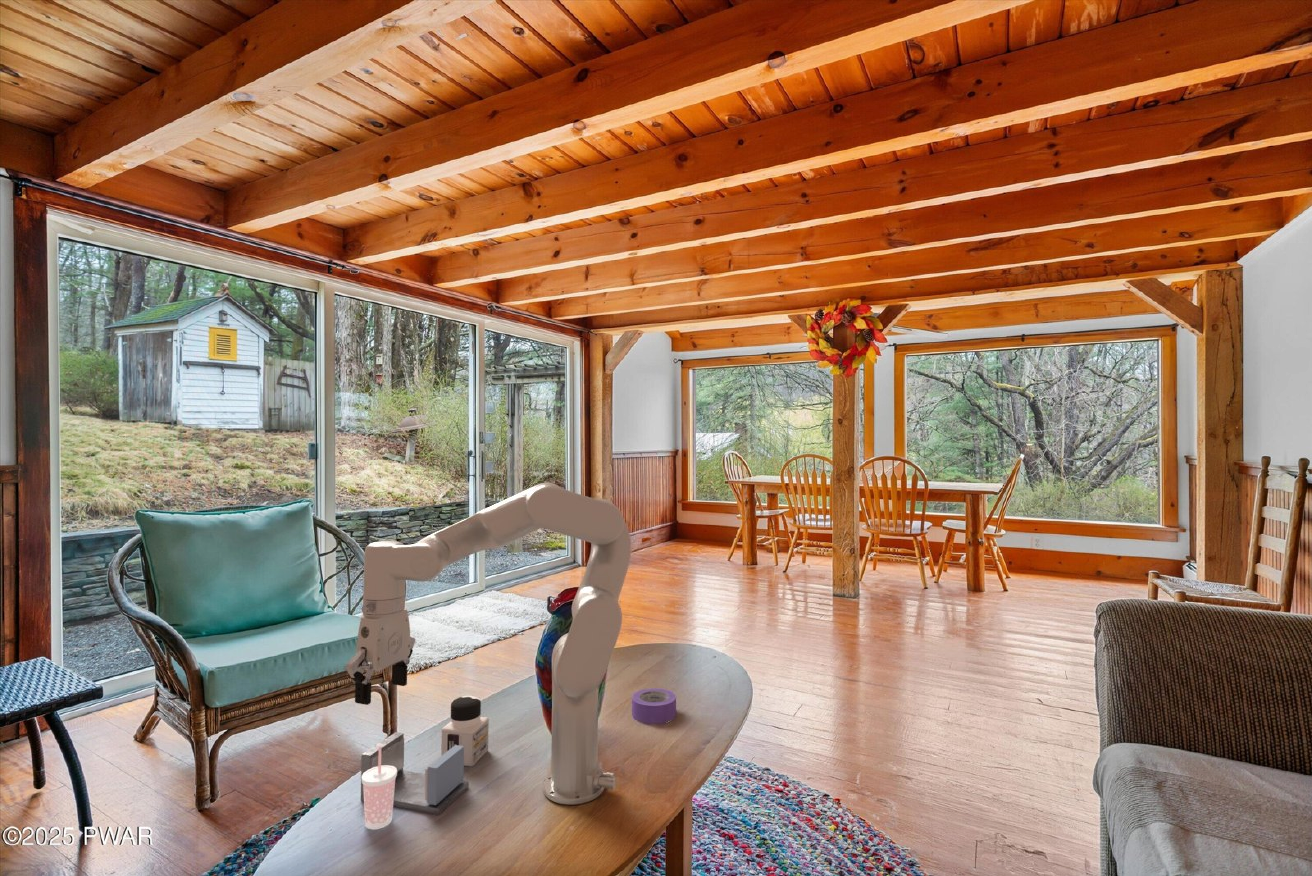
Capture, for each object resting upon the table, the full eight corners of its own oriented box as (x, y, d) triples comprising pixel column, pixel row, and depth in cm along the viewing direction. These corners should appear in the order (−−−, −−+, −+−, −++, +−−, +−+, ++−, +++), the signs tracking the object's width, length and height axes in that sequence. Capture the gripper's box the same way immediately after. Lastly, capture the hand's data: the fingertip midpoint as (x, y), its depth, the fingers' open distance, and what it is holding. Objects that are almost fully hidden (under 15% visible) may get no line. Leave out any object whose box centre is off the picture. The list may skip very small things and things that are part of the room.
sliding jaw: (463, 780, 126) (463, 746, 126) (435, 805, 117) (436, 768, 117) (452, 778, 127) (453, 744, 127) (424, 803, 118) (425, 766, 118)
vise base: (468, 787, 126) (469, 743, 126) (438, 815, 117) (439, 767, 117) (394, 774, 131) (395, 732, 131) (360, 800, 121) (361, 754, 122)
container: (472, 767, 134) (473, 707, 135) (440, 763, 136) (441, 704, 136) (488, 750, 142) (489, 694, 142) (458, 747, 144) (459, 691, 144)
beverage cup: (362, 816, 116) (363, 741, 116) (397, 809, 118) (398, 736, 119) (359, 835, 110) (360, 756, 111) (395, 827, 113) (397, 751, 113)
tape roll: (622, 717, 161) (623, 698, 161) (648, 702, 170) (648, 684, 170) (660, 729, 154) (660, 709, 154) (684, 713, 164) (684, 694, 164)
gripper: (366, 618, 110) (363, 714, 110) (429, 597, 127) (427, 680, 126) (333, 614, 112) (330, 708, 112) (399, 594, 129) (397, 676, 129)
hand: (381, 693), depth 119 cm, fingers open, 9 cm apart
